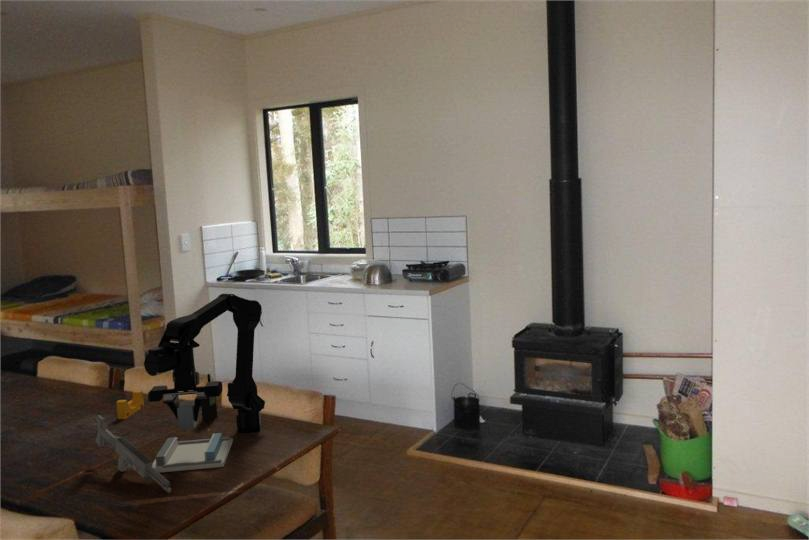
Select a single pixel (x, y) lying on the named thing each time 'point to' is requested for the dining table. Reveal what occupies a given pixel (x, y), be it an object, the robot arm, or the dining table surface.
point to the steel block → (186, 415)
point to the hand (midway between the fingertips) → (188, 421)
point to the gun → (130, 455)
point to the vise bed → (189, 455)
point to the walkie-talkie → (209, 407)
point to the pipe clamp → (130, 405)
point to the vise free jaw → (213, 446)
